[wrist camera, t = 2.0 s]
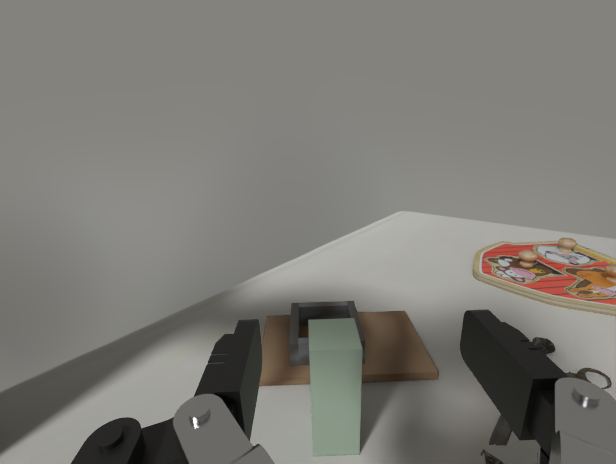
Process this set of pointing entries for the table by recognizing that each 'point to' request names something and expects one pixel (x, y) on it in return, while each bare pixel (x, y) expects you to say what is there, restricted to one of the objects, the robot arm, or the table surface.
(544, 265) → the knob puzzle
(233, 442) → the robot arm
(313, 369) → the peg block
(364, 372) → the tool stand
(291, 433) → the table surface
